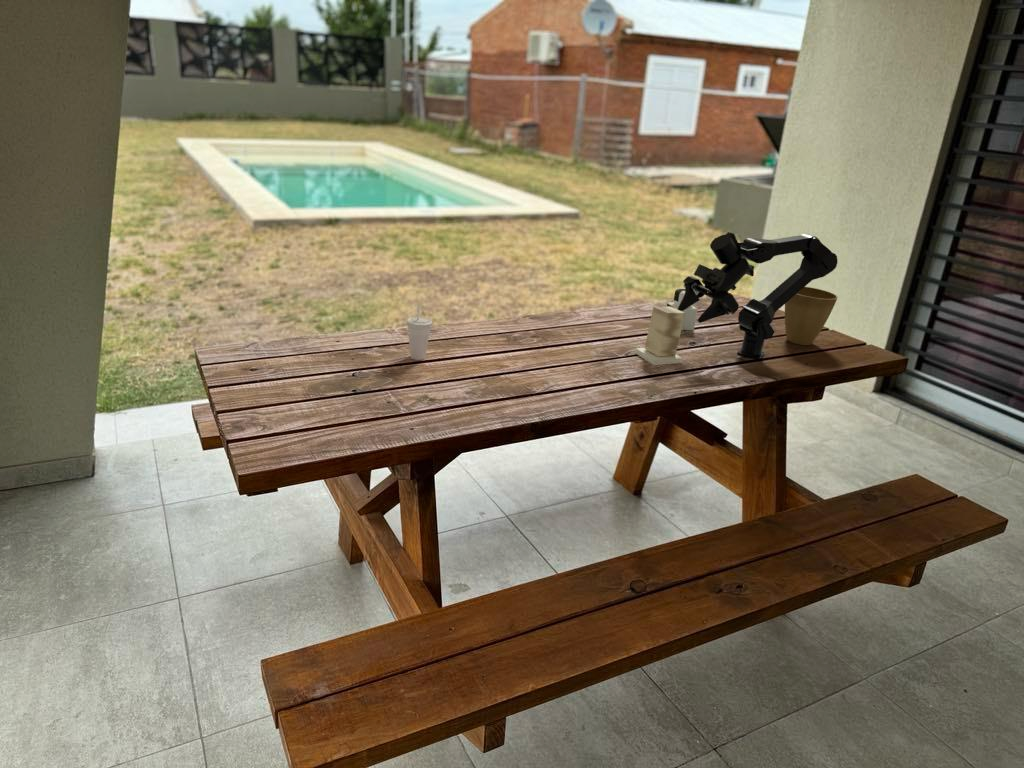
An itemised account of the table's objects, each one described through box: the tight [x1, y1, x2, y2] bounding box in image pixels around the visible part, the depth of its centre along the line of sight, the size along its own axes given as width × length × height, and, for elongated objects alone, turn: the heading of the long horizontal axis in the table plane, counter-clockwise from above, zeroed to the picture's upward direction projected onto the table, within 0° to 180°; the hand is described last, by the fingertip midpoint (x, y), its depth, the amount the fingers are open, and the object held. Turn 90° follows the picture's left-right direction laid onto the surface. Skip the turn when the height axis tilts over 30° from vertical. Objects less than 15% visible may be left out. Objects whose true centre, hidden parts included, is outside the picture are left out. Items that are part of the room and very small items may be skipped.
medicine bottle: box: [666, 288, 699, 332], centre depth 231 cm, size 7×7×12 cm
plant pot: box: [784, 286, 838, 346], centre depth 228 cm, size 15×15×16 cm
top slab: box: [635, 347, 683, 366], centre depth 201 cm, size 9×9×2 cm
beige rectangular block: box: [644, 306, 685, 356], centre depth 199 cm, size 6×6×12 cm
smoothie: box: [406, 302, 433, 361], centre depth 185 cm, size 6×6×14 cm
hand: (688, 316), depth 200 cm, fingers open, 9 cm apart
